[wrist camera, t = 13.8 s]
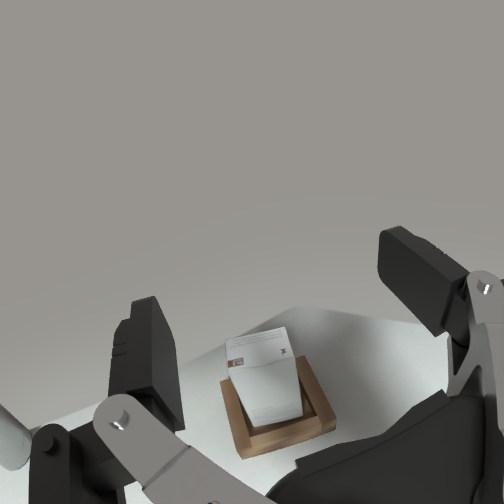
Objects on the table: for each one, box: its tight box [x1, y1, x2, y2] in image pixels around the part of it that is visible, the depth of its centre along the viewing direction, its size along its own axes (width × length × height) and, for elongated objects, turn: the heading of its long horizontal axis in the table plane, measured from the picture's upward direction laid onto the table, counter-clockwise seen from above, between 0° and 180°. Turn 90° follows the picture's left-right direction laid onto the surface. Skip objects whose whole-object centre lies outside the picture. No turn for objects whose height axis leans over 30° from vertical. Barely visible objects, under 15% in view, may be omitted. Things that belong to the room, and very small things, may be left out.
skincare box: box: [225, 327, 304, 427], centre depth 29 cm, size 6×4×12 cm
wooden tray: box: [220, 356, 336, 460], centre depth 32 cm, size 11×10×3 cm
